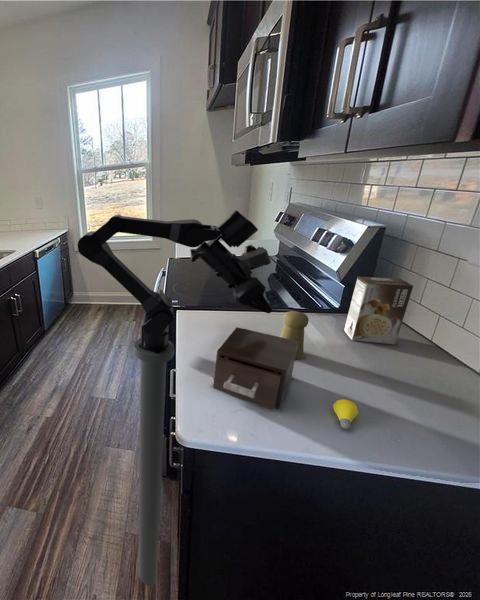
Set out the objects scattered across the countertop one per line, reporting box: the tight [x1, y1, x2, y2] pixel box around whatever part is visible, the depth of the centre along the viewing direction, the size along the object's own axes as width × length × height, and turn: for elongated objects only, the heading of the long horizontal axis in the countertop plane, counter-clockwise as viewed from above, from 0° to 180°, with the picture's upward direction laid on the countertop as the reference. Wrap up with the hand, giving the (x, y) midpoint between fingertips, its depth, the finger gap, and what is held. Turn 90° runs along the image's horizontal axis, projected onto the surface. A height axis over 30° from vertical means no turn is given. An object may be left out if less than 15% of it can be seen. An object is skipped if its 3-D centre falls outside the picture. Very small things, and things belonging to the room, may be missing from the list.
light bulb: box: [332, 398, 359, 430], centre depth 58 cm, size 3×6×4 cm, turn 145°
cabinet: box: [212, 326, 299, 411], centre depth 69 cm, size 14×13×9 cm
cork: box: [279, 310, 310, 360], centre depth 78 cm, size 6×6×11 cm
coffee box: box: [343, 276, 414, 345], centre depth 82 cm, size 9×6×16 cm
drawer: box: [213, 356, 282, 411], centre depth 66 cm, size 17×11×7 cm
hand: (264, 304), depth 78 cm, fingers open, 9 cm apart
